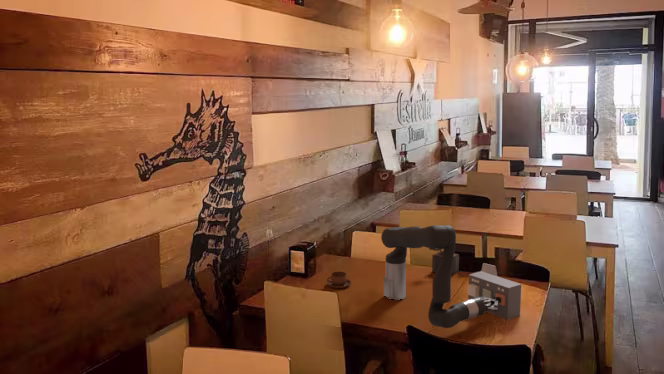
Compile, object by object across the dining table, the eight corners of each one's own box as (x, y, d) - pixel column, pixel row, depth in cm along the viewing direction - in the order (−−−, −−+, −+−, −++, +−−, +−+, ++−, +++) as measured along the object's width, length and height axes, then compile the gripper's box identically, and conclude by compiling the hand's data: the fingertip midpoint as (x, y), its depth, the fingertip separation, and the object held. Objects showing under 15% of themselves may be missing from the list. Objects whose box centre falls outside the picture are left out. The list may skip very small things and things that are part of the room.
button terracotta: (495, 302, 254) (495, 292, 253) (502, 300, 256) (502, 290, 256) (503, 305, 250) (503, 295, 249) (510, 303, 253) (510, 293, 252)
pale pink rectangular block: (492, 286, 291) (493, 266, 289) (480, 283, 296) (481, 264, 294) (496, 284, 294) (497, 265, 292) (484, 281, 298) (484, 262, 296)
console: (467, 304, 268) (468, 274, 265) (480, 300, 273) (481, 271, 270) (507, 320, 250) (508, 288, 248) (520, 315, 255) (521, 284, 252)
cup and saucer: (338, 291, 287) (337, 279, 286) (321, 285, 296) (321, 273, 295) (356, 286, 295) (355, 274, 294) (339, 280, 304) (339, 268, 303)
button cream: (467, 294, 264) (467, 284, 263) (474, 292, 267) (474, 282, 266) (475, 297, 261) (475, 287, 260) (482, 295, 263) (482, 285, 262)
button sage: (482, 298, 260) (482, 288, 259) (489, 295, 262) (489, 286, 261) (490, 301, 256) (490, 291, 255) (497, 298, 258) (497, 289, 258)
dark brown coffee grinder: (441, 267, 322) (441, 234, 319) (459, 271, 315) (459, 238, 312) (424, 274, 311) (425, 240, 308) (443, 278, 304) (443, 244, 301)
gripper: (483, 304, 236) (512, 295, 246) (459, 295, 247) (487, 286, 256) (483, 322, 237) (512, 312, 247) (458, 312, 248) (487, 303, 258)
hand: (499, 299), depth 252 cm, fingers closed
